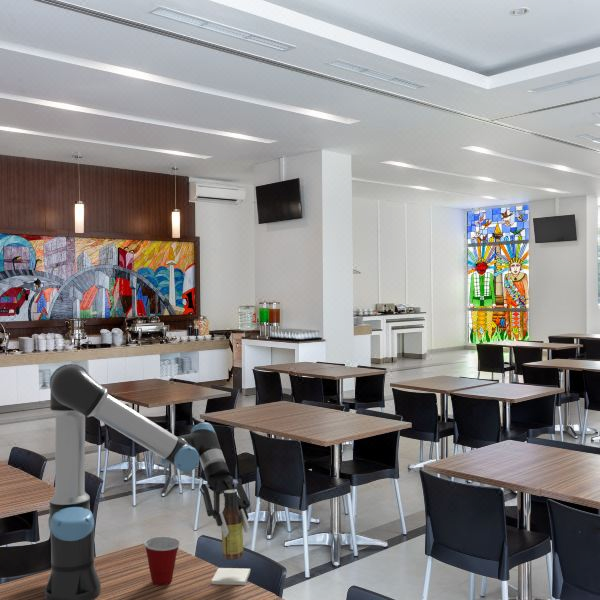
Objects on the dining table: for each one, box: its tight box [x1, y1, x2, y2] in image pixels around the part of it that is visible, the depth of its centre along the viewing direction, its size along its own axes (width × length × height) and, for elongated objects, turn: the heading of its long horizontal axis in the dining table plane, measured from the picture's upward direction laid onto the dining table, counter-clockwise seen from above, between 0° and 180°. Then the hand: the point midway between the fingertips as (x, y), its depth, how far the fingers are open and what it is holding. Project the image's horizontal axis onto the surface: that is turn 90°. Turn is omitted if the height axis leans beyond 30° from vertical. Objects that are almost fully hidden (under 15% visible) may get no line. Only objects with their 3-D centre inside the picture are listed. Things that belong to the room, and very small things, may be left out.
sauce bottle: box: [221, 489, 244, 561], centre depth 210 cm, size 6×6×20 cm
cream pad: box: [210, 567, 251, 586], centre depth 209 cm, size 10×10×1 cm
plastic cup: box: [143, 535, 181, 586], centre depth 207 cm, size 11×11×12 cm
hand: (237, 532), depth 206 cm, fingers closed on sauce bottle, 6 cm apart
